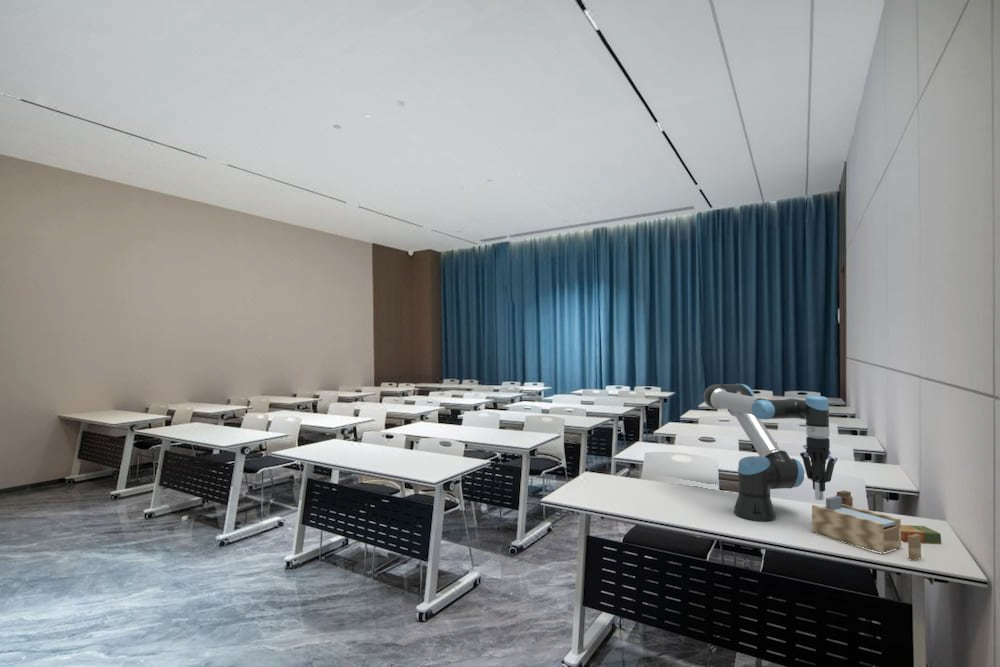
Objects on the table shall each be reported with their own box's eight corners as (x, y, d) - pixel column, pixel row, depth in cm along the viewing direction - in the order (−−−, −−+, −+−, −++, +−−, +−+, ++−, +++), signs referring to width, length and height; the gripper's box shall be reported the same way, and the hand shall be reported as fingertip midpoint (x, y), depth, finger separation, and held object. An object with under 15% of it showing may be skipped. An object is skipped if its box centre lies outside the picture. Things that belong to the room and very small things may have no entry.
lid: (817, 510, 187) (817, 497, 187) (832, 507, 191) (831, 494, 191) (881, 528, 168) (880, 513, 169) (895, 524, 172) (895, 509, 173)
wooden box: (812, 532, 187) (811, 505, 188) (831, 527, 193) (831, 501, 193) (907, 563, 160) (906, 531, 161) (926, 556, 166) (925, 525, 166)
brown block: (842, 525, 195) (841, 489, 196) (853, 528, 192) (852, 492, 192) (835, 527, 193) (834, 491, 193) (846, 530, 189) (845, 494, 190)
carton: (877, 534, 186) (877, 523, 186) (924, 536, 184) (924, 524, 185) (892, 543, 178) (892, 530, 178) (941, 545, 176) (941, 532, 176)
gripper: (795, 435, 196) (796, 496, 195) (829, 440, 185) (831, 505, 184) (806, 433, 200) (808, 493, 199) (841, 438, 188) (843, 502, 187)
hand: (819, 499), depth 191 cm, fingers closed
